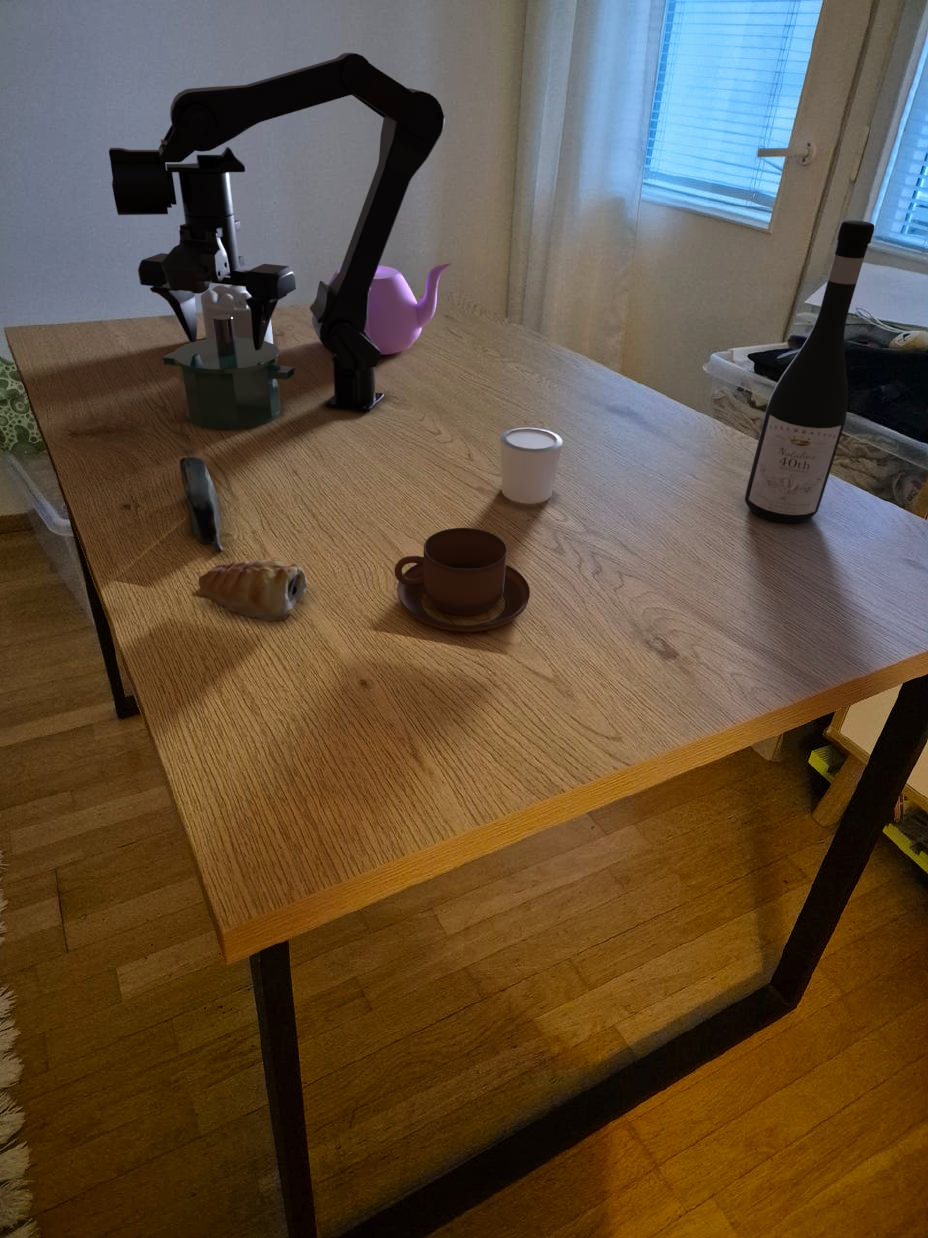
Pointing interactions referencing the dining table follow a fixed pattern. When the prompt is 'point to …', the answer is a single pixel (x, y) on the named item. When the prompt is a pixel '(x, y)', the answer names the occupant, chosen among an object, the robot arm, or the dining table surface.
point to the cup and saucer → (462, 579)
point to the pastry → (255, 587)
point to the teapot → (398, 309)
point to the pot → (232, 396)
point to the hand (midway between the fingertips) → (225, 345)
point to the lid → (225, 352)
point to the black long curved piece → (201, 501)
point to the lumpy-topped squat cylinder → (230, 310)
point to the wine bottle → (809, 400)
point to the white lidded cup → (529, 464)
